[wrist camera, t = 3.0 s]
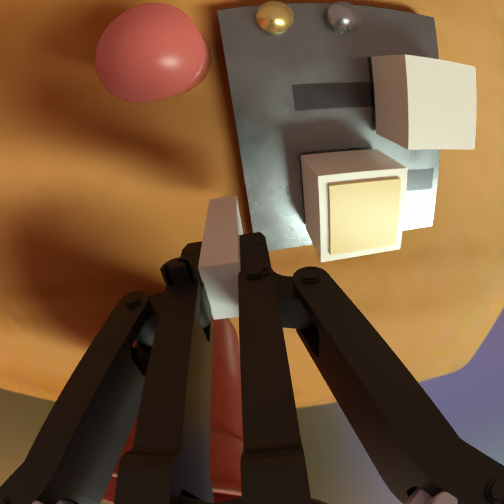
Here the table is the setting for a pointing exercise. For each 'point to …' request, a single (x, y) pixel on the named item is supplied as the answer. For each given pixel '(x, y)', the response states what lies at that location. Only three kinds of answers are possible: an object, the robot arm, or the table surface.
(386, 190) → the block
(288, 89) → the panel
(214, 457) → the flower pot
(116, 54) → the lockout cap
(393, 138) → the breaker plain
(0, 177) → the table surface
